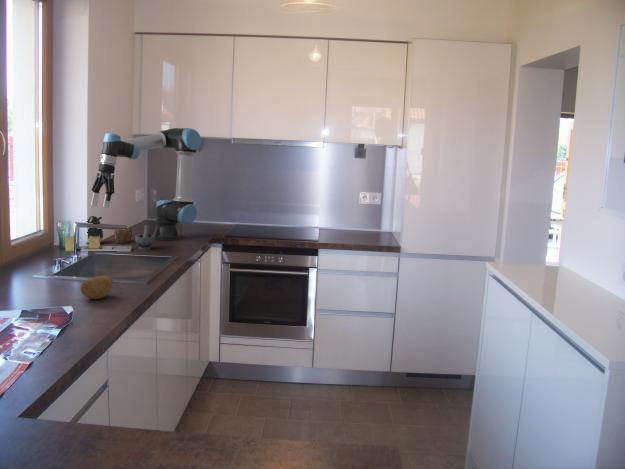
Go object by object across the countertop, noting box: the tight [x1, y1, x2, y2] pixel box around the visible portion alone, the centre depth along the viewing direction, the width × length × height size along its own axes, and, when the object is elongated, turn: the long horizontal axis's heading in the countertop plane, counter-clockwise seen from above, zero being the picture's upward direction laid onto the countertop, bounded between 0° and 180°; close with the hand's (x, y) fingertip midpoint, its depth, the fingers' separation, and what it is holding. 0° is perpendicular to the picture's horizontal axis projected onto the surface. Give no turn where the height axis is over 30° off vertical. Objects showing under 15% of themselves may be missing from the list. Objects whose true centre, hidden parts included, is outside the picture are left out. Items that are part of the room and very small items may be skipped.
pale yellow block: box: [88, 236, 101, 249], centre depth 286 cm, size 5×5×7 cm
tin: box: [113, 227, 133, 245], centre depth 311 cm, size 15×3×8 cm, turn 168°
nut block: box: [64, 235, 75, 252], centre depth 283 cm, size 5×5×7 cm
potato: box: [80, 274, 114, 300], centre depth 202 cm, size 10×14×8 cm
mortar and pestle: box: [134, 225, 155, 251], centre depth 296 cm, size 11×9×12 cm
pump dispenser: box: [86, 215, 104, 243], centre depth 303 cm, size 10×10×15 cm
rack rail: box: [80, 245, 132, 253], centre depth 289 cm, size 24×9×1 cm, turn 106°
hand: (99, 206), depth 276 cm, fingers open, 13 cm apart
